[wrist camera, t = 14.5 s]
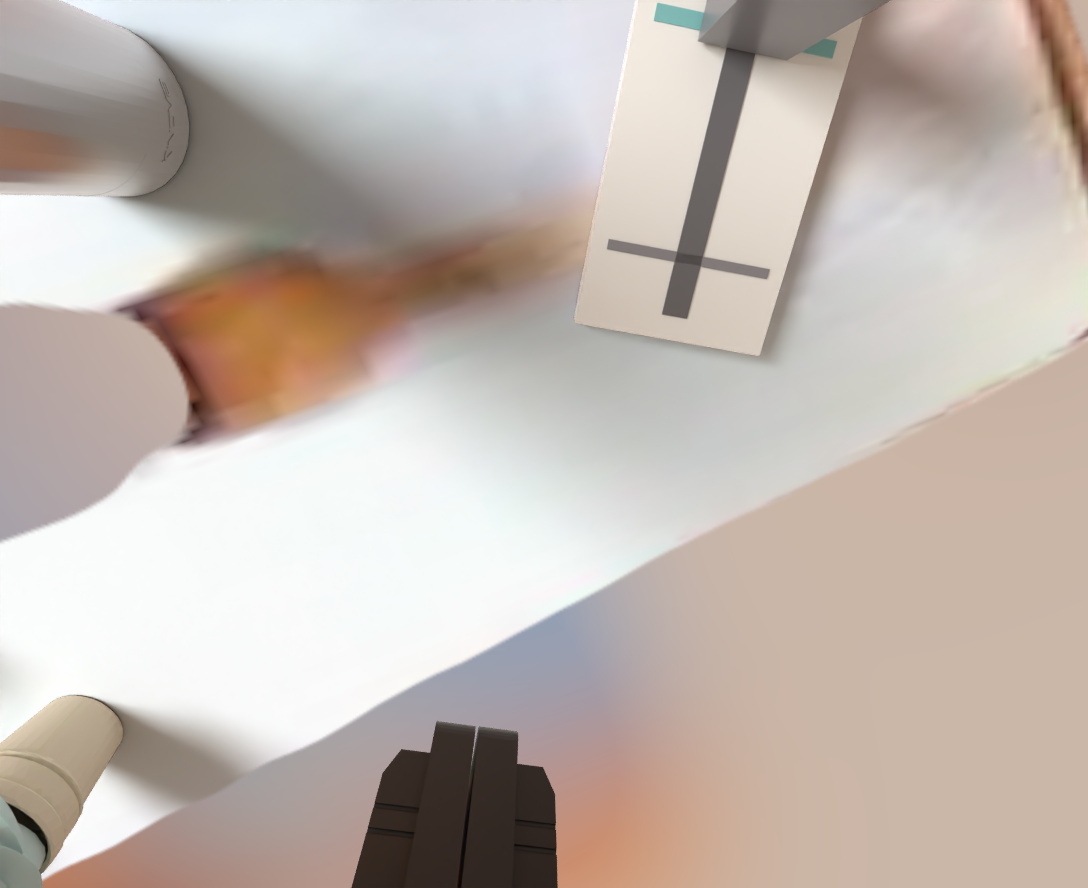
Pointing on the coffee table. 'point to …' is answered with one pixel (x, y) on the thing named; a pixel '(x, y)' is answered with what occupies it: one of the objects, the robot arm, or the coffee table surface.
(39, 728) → the ice cream cone
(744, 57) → the plate
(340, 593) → the coffee table surface
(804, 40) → the post
